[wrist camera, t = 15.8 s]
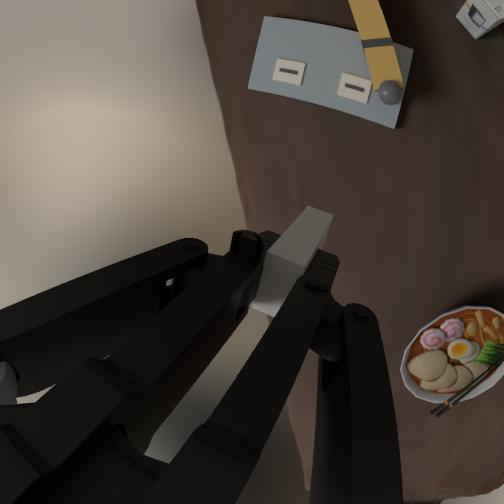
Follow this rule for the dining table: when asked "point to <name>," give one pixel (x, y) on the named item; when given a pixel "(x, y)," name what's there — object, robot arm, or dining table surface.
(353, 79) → the power panel
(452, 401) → the ramen bowl
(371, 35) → the banded tan post
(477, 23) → the ink box
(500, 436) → the dining table surface
